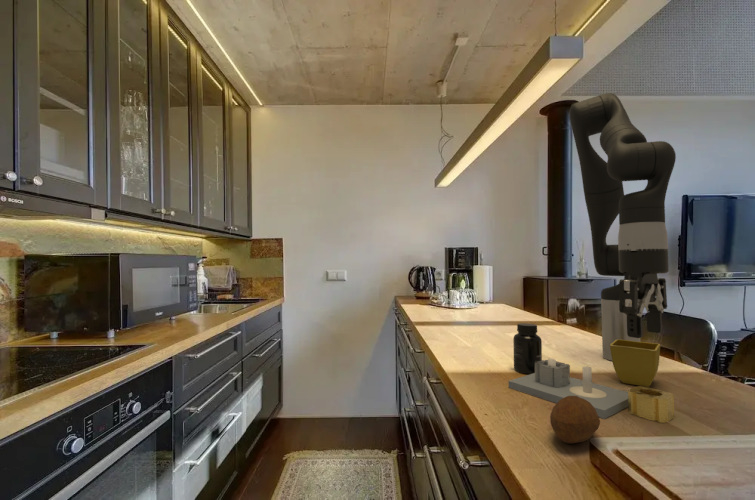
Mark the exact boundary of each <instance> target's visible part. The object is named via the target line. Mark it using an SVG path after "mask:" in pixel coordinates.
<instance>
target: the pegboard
mask: <svg viewBox="0 0 755 500" xmlns="http://www.w3.org/2000/svg"><path fill="white" fill-rule="evenodd" d="M547 360H548V365H549V366H556V361H557V360H556V359H555V358H547ZM581 369H582V379H579V378H576V377H572V376H570V384H568V385H566V386H563V387H560V388H556V387H554V386H548V385H544V384H541V383H539V382H536V381H535V373H533V374H526V375H522V376H520V377H518V378H514V379H510V380H508V383H507V384H508V389H511V390H515V391H518V392H521V393H525V394H528V395H530V396H533V397H537V398H539V399H543V400H545V401H549V402H551V403H555V404H557V403H558V402H559V400H561V399H563V398H565V397H567V396H578V397H580V398H583V399H585V400H587V401H588V402H590V403H591V404H592V406H593V407H594V408H595V409H596V412H597V414H598V417H599V419H600V418H601V419H604V420H605V419H607V418H609V417H610V416H613V415H615V414H617V413H618V412H619V413H620V412H621V411H622V410H624V409H626V408H629V405H628V391H627V390H622V389H618V388H614V387H611V386H607V385H603V384H599V383H596V382H593V380H592V379H593V378H592V374H593V373H592V367H591V366H582V368H581Z"/></svg>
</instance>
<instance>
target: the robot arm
mask: <svg viewBox="0 0 755 500" xmlns="http://www.w3.org/2000/svg"><path fill="white" fill-rule="evenodd" d="M569 120H570V126H571V131H572V134H573V139H574V143H575V147H576V151H577V155H578V156H577V157H578V160H579V165H580V174H581V179H582V186H583V194H584V201H585V206H586V210H587V211H586V212H587V214H588V221H589V226H590V231H591V233H590V235H591V244H592V255H593V257H592V258H593V263H594V268H595V271H596V273H597V274H598V275H600V276H604V277H605V276H606V277H610V276H611V277H624V278H623V279H620V280H619V282H618V283H617V284H616V285H613V286H609V287H606V288H603V289H601V292H600V300H601V302H600V304H601V305H600V306H601V307H600V308H601V335H602V336H601V340H602V341H601V343H602V345H601V346H602V357H603V358H604V360H605V359H606V360H608V361H612V356H611V350H610V344H611V343H613V342H614V341H615V340H616V339H619V340H629V341H637V342H642V341H641V338H643V336H644V333H643V332H644V330H643V325H644V324H643V317H642V316H643V314H644V313H643V312H644V309H645V310H646V331H647V332H649V333H656V334H659V333H662V331H663V319H662V318H663V317H662V316H663V315H662V314H663V313H664V311H665V310H667V308H668V301H667V300H668V298H667V281H666V278H663V277H662V278H661V277H660V278H659V277H658V274H667V273H668V272H669V270H670V269H669V267H670V265H669V246H668V245H669V243H668V241H669V239H668V232H667V231H668V230H667V226H666V207H665V203H666V196H667V192H668V191H667V190H668V187H669V184H670V180H671V177H672V174H673V173H672V172H673V170H674V168H675V163H676V159H677V156H676V152H675V149H674V147H673V146H672V145H671V144H670V143H669V142H668V141H664V140H663V141H662V140H661V141H660V140H657V141H647V138H646V136H645V135H644V134H643V132H641V131H640V130H639V129H638V128H637V127H636V126H635V125H634V124H633V123H632V121H631V119H630V116H629V115H628V113H627V111H626V109H625V107H624V105H623V103H622V101H621V99H620V98H619V97H618V96H617V94H614V93H612V92H607V93H602V94H599V95H596V96H593V97H591V98H587V99H583V100H580V101H578V102H575V103H573V104H572V105H570V108H569ZM598 134H600V135H599V145H600V147H601V148H602V149H601V150H603V152H604V153H605V155H606V156H607V161H606V160H604V158H602V157H601V156H600V155H599V153H598V152H596V151H597V150H595V148H594V147H593V145H592V144H591V142H590V136H595V135H598ZM637 181H647V184H646V186H645V188H644V189H643V190H638V191H635V192H634V191H633V192H630V193H626V194H625V190H624V184H623V182H637ZM617 217H618V218H619V219H618V220H619V221H618V225H619V227H618V228H619V229H618V233H617V235H618V236H617V243H618V244H607V237H608V236H607V235H608V232H609V230H610V229H611V226H612V225H613V223H614V222H615V220H616V219H617Z"/></svg>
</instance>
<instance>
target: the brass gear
mask: <svg viewBox="0 0 755 500" xmlns="http://www.w3.org/2000/svg"><path fill="white" fill-rule="evenodd" d="M627 392H628V405H629V406H628V413H629V414H630V415H635V416H636V417H639V418H642V419H645V420H649V421H652V422H658V423H661V424H666V423H668V422H670V421H671V420H673V419H674V417H675V402H674V401H675V399H674V397H675V396H674V394H673V393H672V392H667V391H665V390H660V389H658V388H656V389H655V388H652V387H644V386H639V385H637V386H634V387H632V388H629V390H628V391H627Z"/></svg>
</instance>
